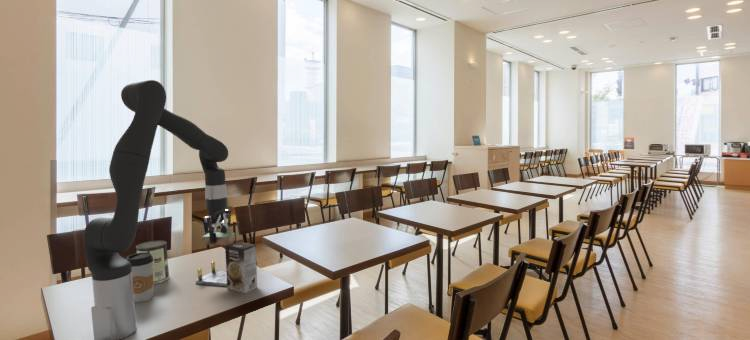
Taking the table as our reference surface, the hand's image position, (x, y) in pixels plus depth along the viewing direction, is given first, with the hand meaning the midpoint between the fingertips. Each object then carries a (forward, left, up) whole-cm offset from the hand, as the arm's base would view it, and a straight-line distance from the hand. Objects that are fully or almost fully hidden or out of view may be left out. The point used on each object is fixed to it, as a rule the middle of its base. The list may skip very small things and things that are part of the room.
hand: (218, 239), depth 149 cm
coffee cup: (-21, +16, -16) cm, 31 cm away
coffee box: (-6, -13, -16) cm, 21 cm away
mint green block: (0, 0, -1) cm, 1 cm away
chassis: (0, 0, -16) cm, 16 cm away
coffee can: (-6, +25, -16) cm, 30 cm away
